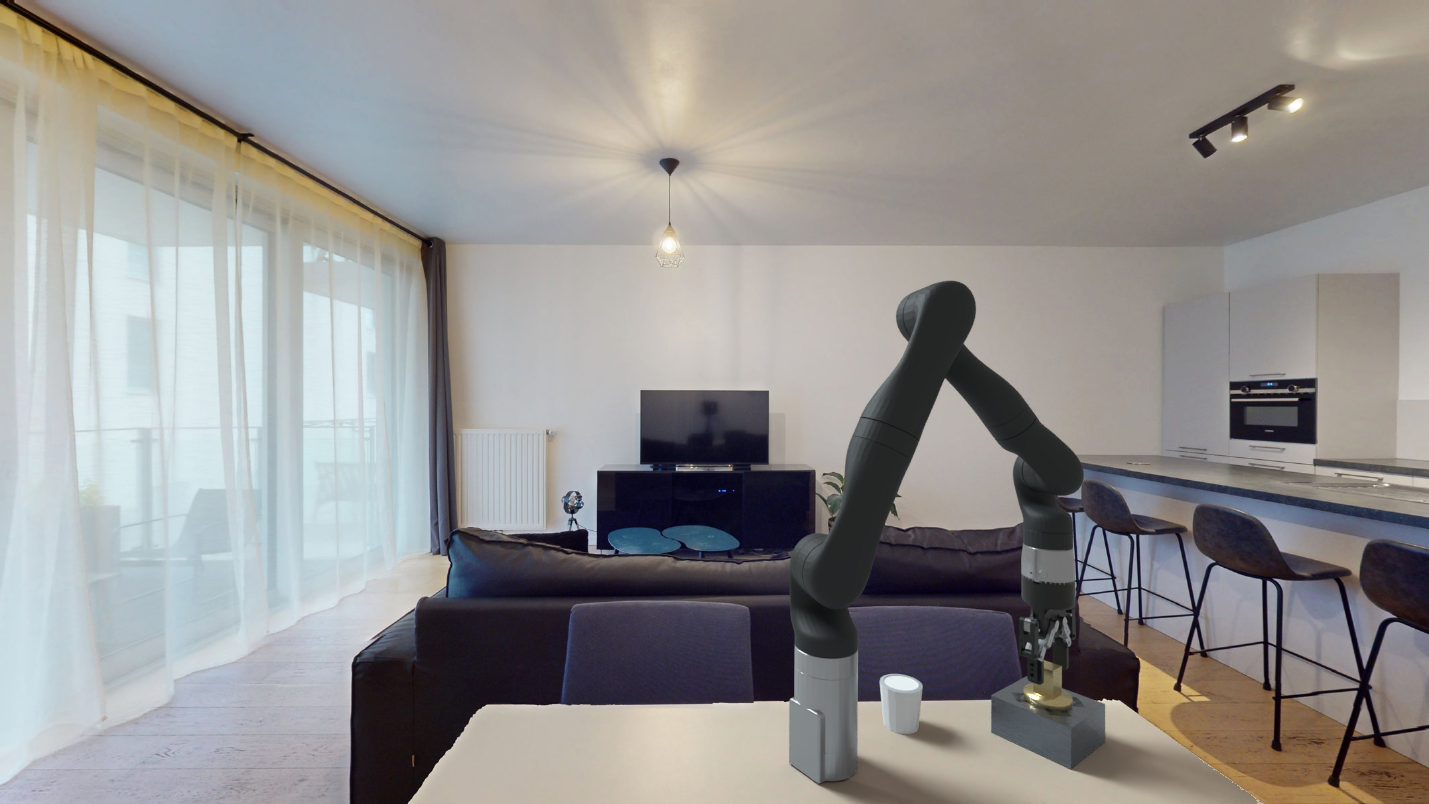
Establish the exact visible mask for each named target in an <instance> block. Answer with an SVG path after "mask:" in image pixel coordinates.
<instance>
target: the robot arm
mask: <svg viewBox="0 0 1429 804" xmlns="http://www.w3.org/2000/svg"><path fill="white" fill-rule="evenodd" d="M976 315H977V303H976V299H975V296H974V294H973V292H972V291H971V289H970V288H969V287H968V286H967V285H966V284H964V283H962V282H961V281H957V280H943V281H939V282H934V283H932V284H929V285H927V286H925V287H922V288H920V289H917V290H915V291H912V292H911V293H909V294H907V295H905V296H904V297H903V299H902V300H900V302H899V303H898V305H897V308H896V313H895V319H896V320H895V321H896V322H895V323H896V326H897V328H898V330H899V331H898V332H899V333H900V334H901V335H902V338H904V339H905V340H906V341H907V345H906V348H905V350H904V352H903V355H902V356H901V358H900V360H899V362H898V363H897V365H896V366H895V367H894V369H893V370H892V371H891V373H890V374H889V376H888V377H887V378H886V379H885V380H884V381H883V383H882V384H881V385H880V386H879V388H878V389H877V390H876V391H875V392H874V394H873V395H872V397H871V398H870V399H869V401H868V402H867V403H866V405H865V407H864V409H863V411H862V412H861V415H860V417H859V419H858V422H857V424H856V426H855V427H854V428H855V429H854V431H853V433H852V436H851V438H850V441H849V444H848V445H847V446H848V447H847V450H846V455H845V464H844V475H843V476H844V478H843V480H844V481H843V490H842V491H843V493H842V497H841V498H842V499H841V503H840V506H839V509H838V511H837V514H836V517H835V518H834V521H833V523H832V525H831V528H830V530H829V531H828V534H827V533H823V532H814V533H810V534H808V535H806V536H804V537H803V538H801V539H800V540H799V541H798V542H797V544H796V545H795V546H794V548H793V551H792V553H791V557H790V563H789V571H788V572H789V576H788V579H789V580H788V581H789V583H788V584H789V609H790V613H789V614H790V620H791V624H792V629H793V632H794V689H793V690H794V692H793V693H794V696H793V697H791V698H790V699H789V701H788V702H789V704H788V705H789V706H788V707H789V708H788V709H789V711H788V712H789V714H788V717H789V718H788V719H789V720H788V721H789V723H788V727H789V728H788V729H789V730H788V734H789V735H788V764H790V765H791V766H793V767H794V768H796V769H797V770H799V772H801V773H803V774H804V775H806V776H807V777H808V778H810V779H811V780H813V781H814V782H816V783H817V784H822V783H824V782H839V781H843V780H844V781H845V780H847V779H848V778H851V777H852V776H853V775H854V774H855V773H856V772H857V770H858V739H859V738H858V726H859V725H858V723H859V722H858V716H859V715H858V711H859V710H858V705H859V704H858V699H859V698H858V697H859V696H858V695H859V692H858V689H859V687H858V686H859V684H858V683H859V675H858V674H859V671H858V670H859V666H858V665H859V634H858V629H857V627H856V624H855V623H854V621H853V618H852V615H851V613H850V610H849V606H851V605H852V604H854V603H855V602H856V601H857V600H858V599H859V598H860V596H861V595H862V594H863V592H864V590H865V588H866V586H867V583H868V581H869V578H870V575H871V572H872V568H873V565H874V562H875V558H876V556H877V551H878V547H879V544H880V541H881V538H882V534H883V531H884V528H885V526H886V522H887V520H888V517H889V515H890V512H891V510H892V507H893V505H894V502H895V499H896V497H897V495H898V493H899V490H900V487H901V485H902V483H903V480H904V478H905V475H906V473H907V471H908V470H909V467H910V465H911V462H912V460H913V457H914V456H915V453H916V450H917V448H918V446H919V443H920V440H921V438H922V436H923V432H924V429H925V427H926V424H927V422H928V420H929V417H930V416H931V412H932V410H933V407H934V406H935V403H936V401H937V398H938V396H939V394H940V391H941V388H942V386H943V384H944V382H945V380H946V381H947V382H948V383H949V384H950V385H951V386H952V387H953V388H954V390H956V391H957V393H958V394H959V395H960V396H961V397H962V399H964V402H966V403H967V404H968V406H969V407H970V408H971V409H972V411H973V412H974V413H975V414H976V416H977V417H978V418H979V419H980V421H981V422H982V424H983V425H984V427H985V428H986V429H987V431H988V432H989V434H990V435H991V436H992V437H993V439H994V440H995V441H996V442H997V444H998V445H999V446H1000V447H1001V448H1002V450H1003V449H1004V450H1005V451H1006V452H1009V453H1012V454H1014V455H1017V456H1016V458H1015V461H1014V464H1013V468H1012V480H1013V485H1014V486H1013V487H1014V490H1015V494H1016V497H1017V502H1018V505H1019V509H1020V512H1021V515H1022V549H1021V551H1022V552H1021V557H1020V558H1021V560H1020V561H1021V563H1020V564H1021V575H1020V577H1021V584H1020V585H1021V598H1022V600H1023V602H1024V603H1026V604H1028V605H1029V606H1030V614H1029V617H1025V616H1020V617H1019V619H1018V647H1017V648H1018V649H1017V650H1018V651H1017V653H1018V656H1021V657H1024V658H1026V670H1027V671H1026V673H1027V674H1026V676H1027V679H1028V680H1029V681H1030V682H1033V683H1035V684H1038V685H1041V684H1043V683H1044V661H1043V660H1045V659H1044V658H1045V655H1046V652H1047V650H1048V649H1050V648H1051V647H1052V649H1051V650H1052V663H1054V664H1057V665H1060V666H1062V671H1064V670H1065V671H1066V670H1067V669H1068V668H1069V667H1070V666H1069V665H1070V664H1069V662H1070V661H1069V659H1070V658H1069V656H1070V655H1069V654H1070V652H1069V650H1070V649H1069V647H1071V645H1072V641H1074V640H1076V638H1077V632H1076V631H1077V630H1076V629H1077V627H1076V624H1077V623H1076V559H1075V553H1074V522H1073V518H1072V514H1070V512H1068V511H1066V510H1065V509H1063V508H1062V507H1060V505H1059V504H1058V502H1057V499H1056V496H1059V497H1060V496H1061V497H1063V496H1070V495H1073V494H1075V493H1077V492H1078V491H1079V490H1080V489H1081V487H1082V485H1083V482H1084V478H1085V475H1084V474H1085V472H1084V468H1083V464H1082V462H1081V461H1080V459H1079V457H1078V455H1077V454H1076V453H1075V452H1074V451H1073V450H1072V449H1071V448H1070V446H1068V445H1067V444H1066V443H1065V442H1064V441H1063V440H1062V439H1061V438H1059V436H1058V435H1056V434H1055V433H1054V432H1052V430H1050V429H1049V428H1048V427H1046V426H1045V424H1043V423H1042V422H1041V421H1040V420H1039V418H1038V416H1037V415H1036V413H1035V412H1034V411H1033V409H1032V408H1031V407H1030V405H1029V404H1028V403H1027V401H1026V400H1025V398H1024V397H1023V395H1022V394H1021V393H1020V392H1019V391H1018V390H1017V389H1016V388H1015V387H1014V386H1013V385H1012V384H1011V383H1010V382H1008V380H1007V379H1005V378H1004V377H1002V375H1000V374H998V372H996V371H994V370H993V369H992V368H991V367H989V366H988V365H986V364H985V363H984V362H982V361H981V360H980V359H979V358H978V357H977V356H976V355H975V354H974V353H973V352H972V351H971V350H970V349H969V348H968V347H967V346H966V345H965V342H966V340H967V338H968V337H969V335H970V333H971V331H972V328H973V326H974V323H975V320H976Z"/></svg>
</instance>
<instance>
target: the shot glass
mask: <svg viewBox="0 0 1429 804" xmlns="http://www.w3.org/2000/svg"><path fill="white" fill-rule="evenodd" d="M879 688H880V690H879V691H880V701H881V702H880V703H881V711H882V714H881V715H882V723H883V725H884V727H885V728H886V729H888V730H889V731H891V732H894V733H896V734H901V735H912V734H915V733H917V732H918V731H919V726H920V718H921V717H920V716H921V705H922V697H923V696H922V695H923V683H922V682H921V681H920V680H919V679H917V678H915V677H913V676H909V675H907V674H902V673H901V674H900V673H889V674H885V675H882V676H881V677H880V679H879Z"/></svg>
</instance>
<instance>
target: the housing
mask: <svg viewBox="0 0 1429 804" xmlns="http://www.w3.org/2000/svg"><path fill="white" fill-rule="evenodd" d="M1032 683H1033V682H1030V681H1029V680H1028V679H1027V675H1026V676H1024V677H1023V678H1019V680H1017V681H1015V682H1013V683H1012V684H1009V685H1008V686H1006V687H1003V688H1002V689H1000V690H998V691H996V692H994V693H993V694H991V696H990V699H991V701H990V704H991V705H990V711H991V712H990V713H991V715H990V719H991V721H990V722H991V723H990V732H991V733H992V734H993V735H995V736H998V737H1000V738H1002V739H1005V740H1007V741H1009V742H1011V743H1014V744H1016V745H1018V746H1020V747H1022V748H1024V749H1026V750H1028V751H1031V752H1033V753H1035V754H1036V755H1039V756H1040V757H1043V758H1046V759H1047V760H1050V761H1052V762H1054V763H1056V764H1058V765H1060V766H1062V767H1064V768H1067V769H1069V770H1072V769H1073V768H1075V767H1076V766H1077V765H1079V764H1080V763H1081V762H1082V761H1084V760H1085V759H1086V758H1087V757H1088V756H1090V755H1091V754H1092V753H1093V752H1094V751H1096V750H1097V749H1098V748H1100V747H1101V746H1103V744H1105V743H1106V703H1103V702H1102V701H1098V700H1095V699H1093V698H1090V697H1088V696H1085V695H1082V694H1079V693H1077V692H1073V691H1071V690H1069V689H1065V688H1063V687H1062V690H1064V691H1066V692H1067V693H1069V694H1070V695H1071V696H1072V707H1071V708H1070V709H1068V710H1063V711H1058V710H1050V709H1045V708H1042V707H1039V706H1036V705H1034V704H1032V703H1030V702H1029V701H1027V700H1026V699H1025V697H1024V686H1025V685H1027V684H1032Z"/></svg>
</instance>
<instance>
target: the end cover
mask: <svg viewBox="0 0 1429 804" xmlns="http://www.w3.org/2000/svg"><path fill="white" fill-rule="evenodd" d="M1043 661H1044V683H1043V684H1041V685H1038V684H1035V683H1032V684H1027V685H1025V686H1024V697H1025V699H1026V700H1027V701H1029V702H1030V703H1032V704H1034V705H1036V706H1039V707H1042V708H1045V709H1050V710H1058V711H1063V710H1068V709H1070V708H1071V707H1072V696H1071V695H1070V694H1069V693H1067V692H1066V691H1064V690H1062V688H1063V686H1062V685H1063V674H1062V673H1063V672H1062V671H1063V669H1062V666H1060V665H1057V664H1054V663H1053V662H1050V661H1048V660H1045V659H1043Z"/></svg>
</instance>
